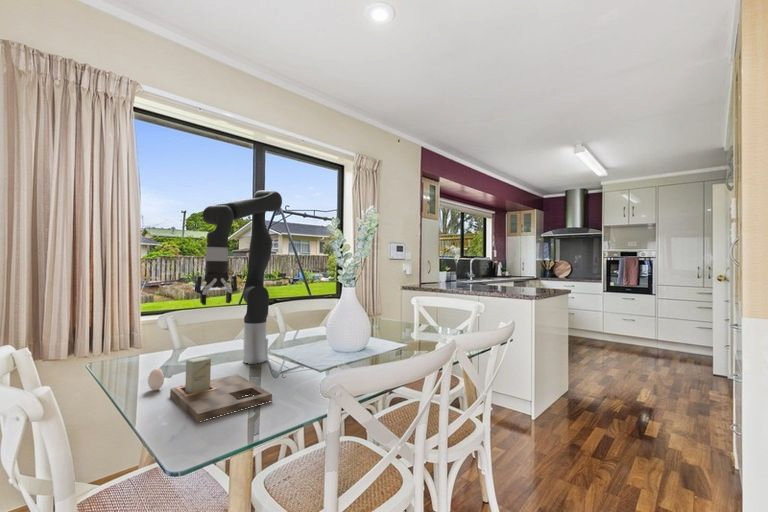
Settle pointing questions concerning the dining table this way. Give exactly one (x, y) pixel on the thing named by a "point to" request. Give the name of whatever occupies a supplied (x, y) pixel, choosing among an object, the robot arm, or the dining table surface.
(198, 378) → the skincare box
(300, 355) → the dining table surface
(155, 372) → the egg
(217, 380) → the socket board
